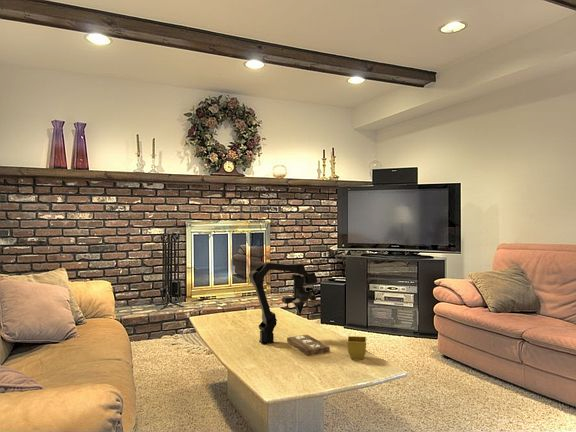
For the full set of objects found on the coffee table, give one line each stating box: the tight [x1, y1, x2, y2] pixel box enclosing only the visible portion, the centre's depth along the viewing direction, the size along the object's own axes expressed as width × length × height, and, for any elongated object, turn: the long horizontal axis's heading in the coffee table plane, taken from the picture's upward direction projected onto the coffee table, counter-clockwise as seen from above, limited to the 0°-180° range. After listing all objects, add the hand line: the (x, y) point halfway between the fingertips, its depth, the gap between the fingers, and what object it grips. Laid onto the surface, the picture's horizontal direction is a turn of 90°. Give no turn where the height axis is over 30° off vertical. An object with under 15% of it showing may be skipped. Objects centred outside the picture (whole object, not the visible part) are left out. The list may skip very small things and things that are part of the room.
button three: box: [310, 344, 320, 348], centre depth 207 cm, size 4×4×3 cm
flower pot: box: [346, 335, 367, 361], centre depth 195 cm, size 9×9×9 cm
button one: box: [295, 335, 305, 340], centre depth 222 cm, size 4×4×3 cm
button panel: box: [286, 334, 330, 357], centre depth 214 cm, size 12×25×2 cm, turn 24°
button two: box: [302, 340, 313, 344], centre depth 214 cm, size 4×4×3 cm
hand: (299, 313), depth 232 cm, fingers closed
